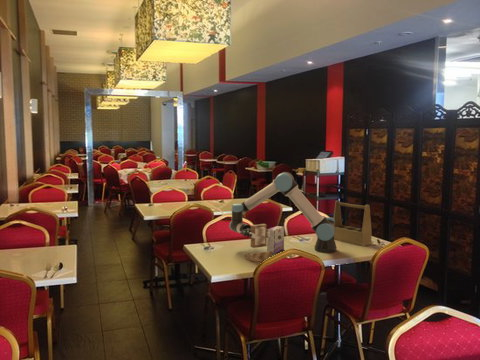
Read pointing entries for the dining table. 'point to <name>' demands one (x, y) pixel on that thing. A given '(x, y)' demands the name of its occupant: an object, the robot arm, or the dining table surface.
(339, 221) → the caddy
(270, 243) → the candy box
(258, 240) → the wooden block
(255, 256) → the ledge
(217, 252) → the dining table surface
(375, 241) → the dining table surface
